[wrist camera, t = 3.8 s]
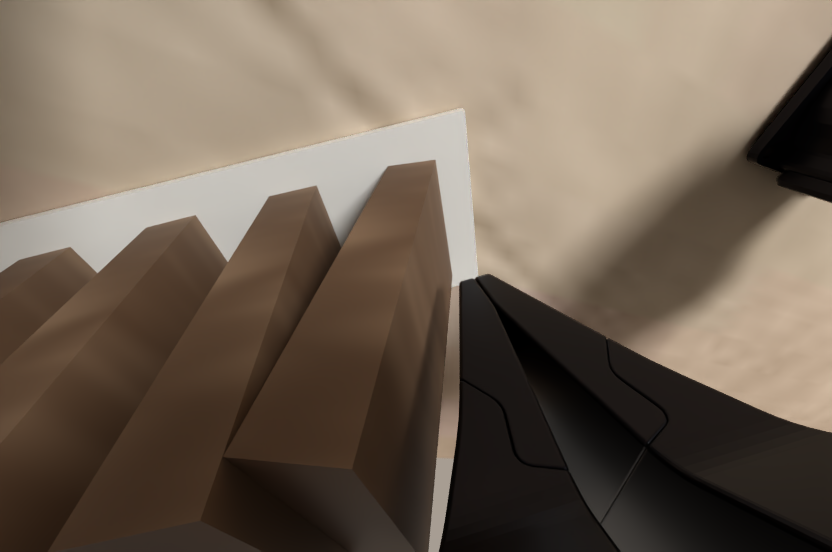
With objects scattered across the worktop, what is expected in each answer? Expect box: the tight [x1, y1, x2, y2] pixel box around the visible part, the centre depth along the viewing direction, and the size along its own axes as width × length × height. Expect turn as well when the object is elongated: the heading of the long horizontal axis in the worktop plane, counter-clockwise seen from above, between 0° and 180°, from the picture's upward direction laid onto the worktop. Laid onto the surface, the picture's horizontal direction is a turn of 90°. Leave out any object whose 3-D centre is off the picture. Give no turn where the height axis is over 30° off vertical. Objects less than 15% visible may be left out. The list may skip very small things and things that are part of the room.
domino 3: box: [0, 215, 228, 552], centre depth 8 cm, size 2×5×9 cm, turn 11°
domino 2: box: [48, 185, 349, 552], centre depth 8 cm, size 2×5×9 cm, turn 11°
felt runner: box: [0, 108, 478, 287], centre depth 12 cm, size 20×7×1 cm, turn 101°
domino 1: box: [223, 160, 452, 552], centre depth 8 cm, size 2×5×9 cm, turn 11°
